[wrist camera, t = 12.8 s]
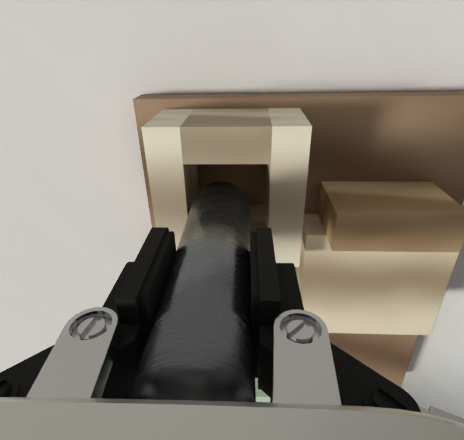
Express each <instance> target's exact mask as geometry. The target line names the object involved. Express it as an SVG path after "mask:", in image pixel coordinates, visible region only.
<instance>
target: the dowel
mask: <svg viewBox="0 0 464 440" xmlns="http://www.w3.org/2000/svg"><path fill="white" fill-rule="evenodd" d="M250 231H251V204H250V200H249V198H248V196H247V194H246V193H245V192H244V191H243V190H242V189H241V188H240V187H239V186H237V185H235V184H233V183H230V182H226V181H216V182H211V183H209V184H206V185H205V186H203V187H202V188H201V189H200V190H199V191H198V192H197V193H196V195H195V197H194V199H193V203H192V206H191V209H190V212H189V215H188V218H187V221H186V224H185V227H184V230H183V233H182V236H181V239H180V242H179V245H178V248H177V251H176V254H175V257H174V260H173V263H172V266H171V269H170V272H169V275H168V278H167V281H166V284H165V287H164V290H163V293H162V296H161V299H160V302H159V305H158V308H157V311H156V314H155V317H154V320H153V323H152V326H151V329H150V332H149V335H148V338H147V341H146V344H145V347H144V350H143V353H142V356H141V360H140V363H139V366H138V369H137V372H136V375H135V378H134V381H133V384H132V387H131V390H130V393H129V399H150V400H193V401H232V402H256V389H255V350H254V337H253V334H252V332H251V279H250Z"/></svg>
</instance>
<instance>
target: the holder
mask: <svg viewBox="0 0 464 440" xmlns="http://www.w3.org/2000/svg"><path fill="white" fill-rule="evenodd" d="M141 129H142V136H143V143H144V150H145V157H146V164H147V171H148V178H149V185H150V191H151V198H152V205H153V212H154V219H155V226H156V227H168V228H169V231H173V232H174V235H175V243H176V251H177V248H178V245H179V242H180V239H181V236H182V233H183V230H184V227H185V224H186V221H187V218H188V215H189V212H190V209H191V206H192V203H193V199H194V197H195V195H196V193H197V192H198V191H199V176H198V164H266V189H265V204H251V231H255V232H256V228H271V230H272V237H273V245H274V252H275V260H276V263H294V266H295V267H299V263H300V252H301V241H302V231H303V220H304V209H305V198H306V187H307V176H308V165H309V154H310V143H311V132H312V125H311V124H310V122H309V121H308V119H307V118H306V116H305V115H304V113H303V112H302V110H301V109H300V108H221V109H163V110H161V111H160V112H159V113H158V114H157V115H155V116H154V117H153V118H152V119H151V120H150V121H148V122H147V123H146V124H145V125H144V126H142V127H141Z"/></svg>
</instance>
